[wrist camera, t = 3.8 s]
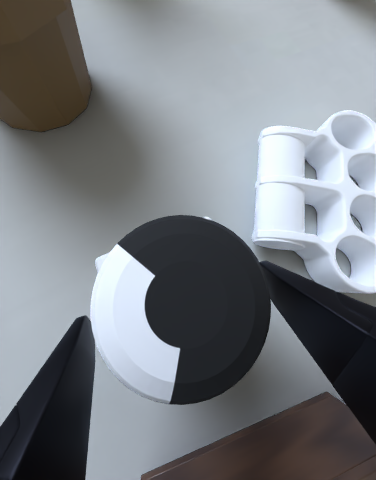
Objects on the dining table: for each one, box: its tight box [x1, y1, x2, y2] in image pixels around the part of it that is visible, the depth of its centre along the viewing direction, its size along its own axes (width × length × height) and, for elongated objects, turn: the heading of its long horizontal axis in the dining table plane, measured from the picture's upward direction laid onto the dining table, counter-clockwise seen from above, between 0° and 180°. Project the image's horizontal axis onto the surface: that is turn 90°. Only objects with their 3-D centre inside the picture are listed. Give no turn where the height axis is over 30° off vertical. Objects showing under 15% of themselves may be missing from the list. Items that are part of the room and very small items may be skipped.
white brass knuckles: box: [252, 110, 376, 294], centre depth 19 cm, size 3×18×15 cm
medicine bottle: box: [91, 215, 271, 405], centre depth 12 cm, size 7×7×12 cm
